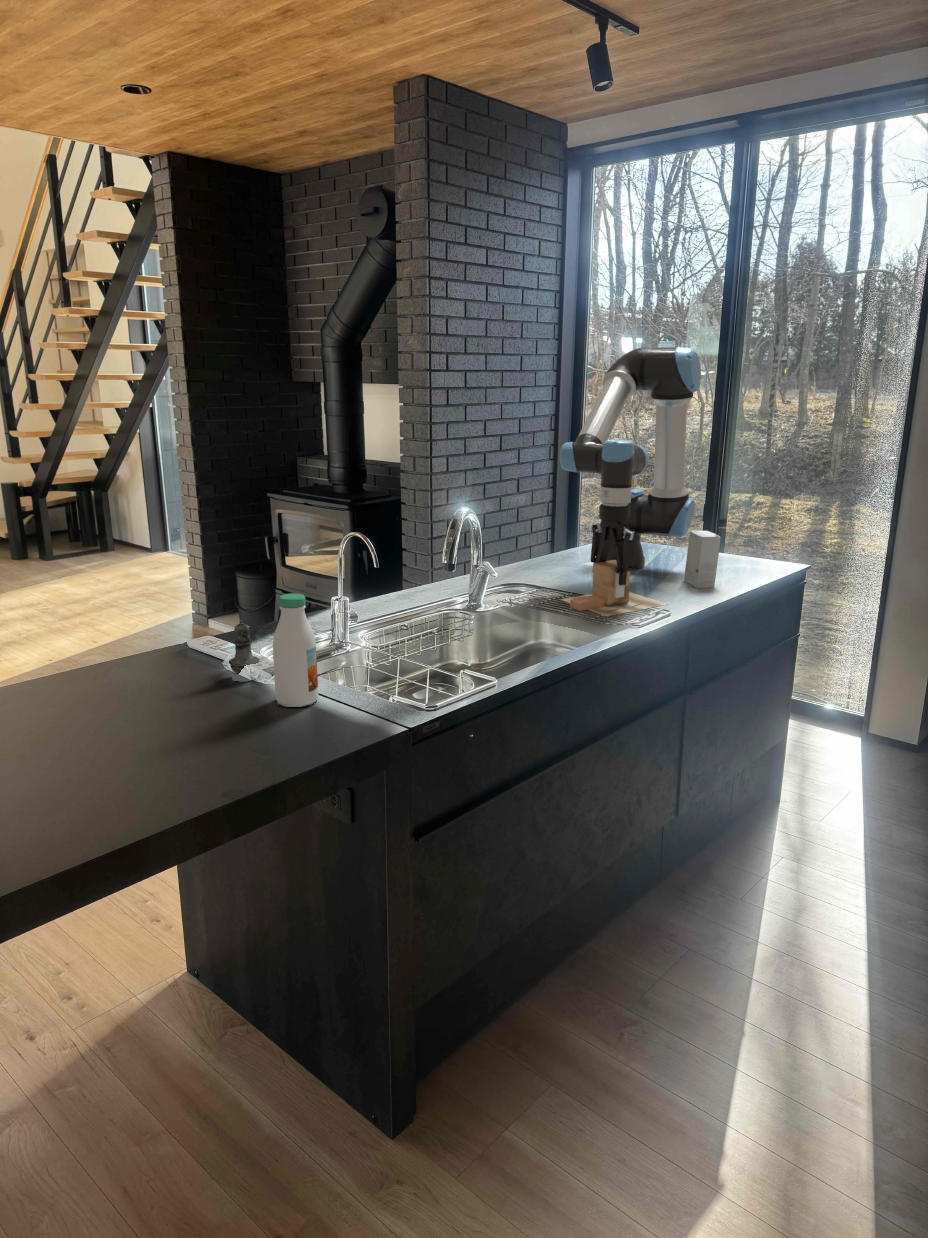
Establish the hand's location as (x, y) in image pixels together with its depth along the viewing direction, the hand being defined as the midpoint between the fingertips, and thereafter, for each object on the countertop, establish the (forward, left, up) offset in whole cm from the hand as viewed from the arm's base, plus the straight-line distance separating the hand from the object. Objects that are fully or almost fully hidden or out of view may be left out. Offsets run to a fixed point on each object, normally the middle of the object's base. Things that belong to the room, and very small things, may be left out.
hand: (609, 594), depth 221 cm
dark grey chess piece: (+96, +2, -4) cm, 96 cm away
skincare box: (-39, -5, -4) cm, 39 cm away
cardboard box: (0, 0, -2) cm, 2 cm away
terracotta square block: (+5, 0, -2) cm, 6 cm away
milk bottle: (+92, +19, -4) cm, 94 cm away
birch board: (-2, 0, -3) cm, 4 cm away
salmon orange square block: (+9, 0, -2) cm, 9 cm away
